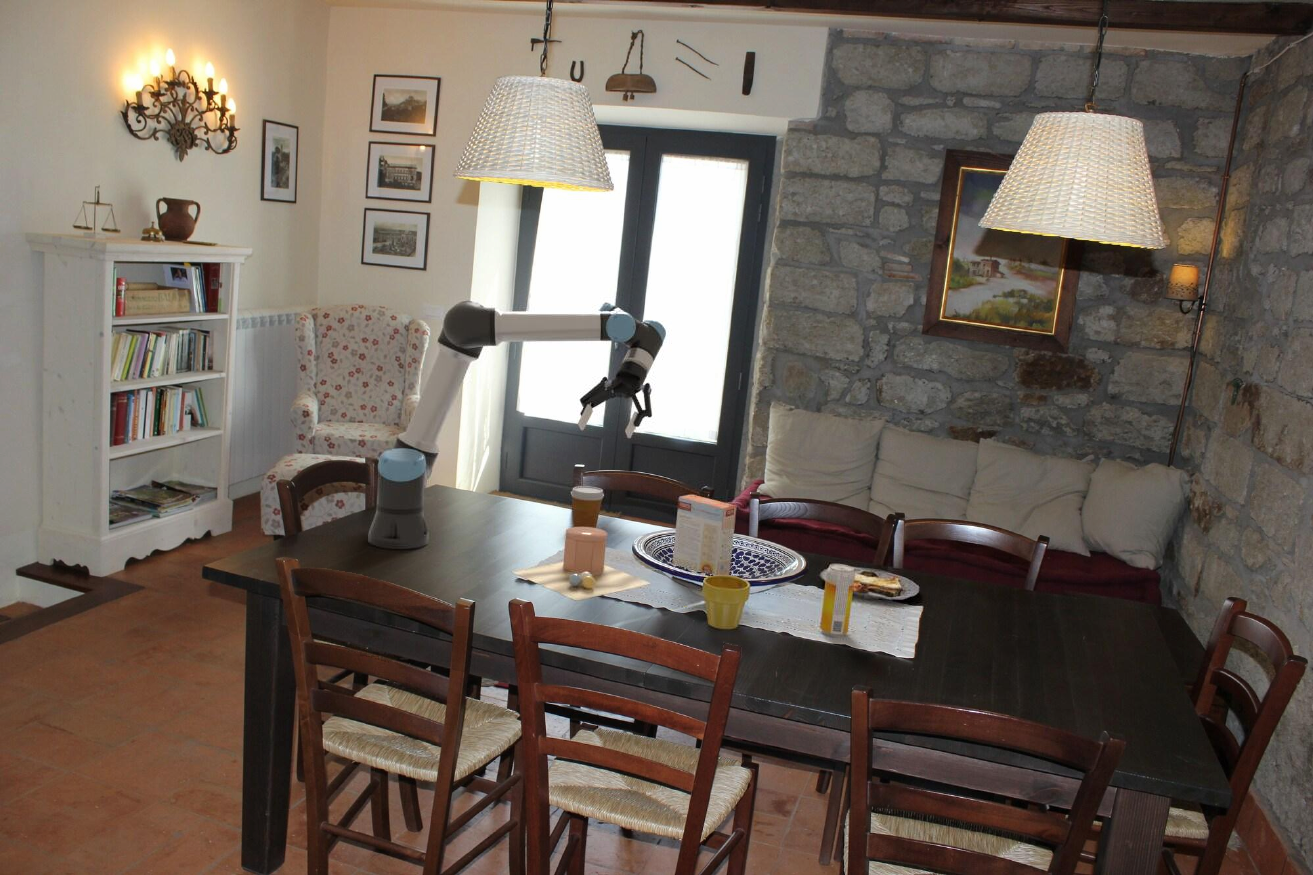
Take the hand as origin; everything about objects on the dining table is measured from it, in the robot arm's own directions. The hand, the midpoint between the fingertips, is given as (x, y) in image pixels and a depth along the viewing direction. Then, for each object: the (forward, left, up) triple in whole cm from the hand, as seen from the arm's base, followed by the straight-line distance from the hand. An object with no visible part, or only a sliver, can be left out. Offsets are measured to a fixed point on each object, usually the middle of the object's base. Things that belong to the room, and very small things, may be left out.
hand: (603, 430), depth 253 cm
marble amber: (+19, -19, -33) cm, 43 cm away
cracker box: (+28, +10, -34) cm, 45 cm away
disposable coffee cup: (-22, +16, -34) cm, 43 cm away
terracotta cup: (+6, -9, -33) cm, 35 cm away
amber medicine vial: (+68, +10, -34) cm, 77 cm away
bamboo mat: (+12, -15, -34) cm, 39 cm away
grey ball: (+16, -20, -33) cm, 42 cm away
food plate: (+54, +46, -34) cm, 79 cm away
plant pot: (+51, -8, -34) cm, 62 cm away
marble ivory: (+16, -17, -33) cm, 41 cm away
